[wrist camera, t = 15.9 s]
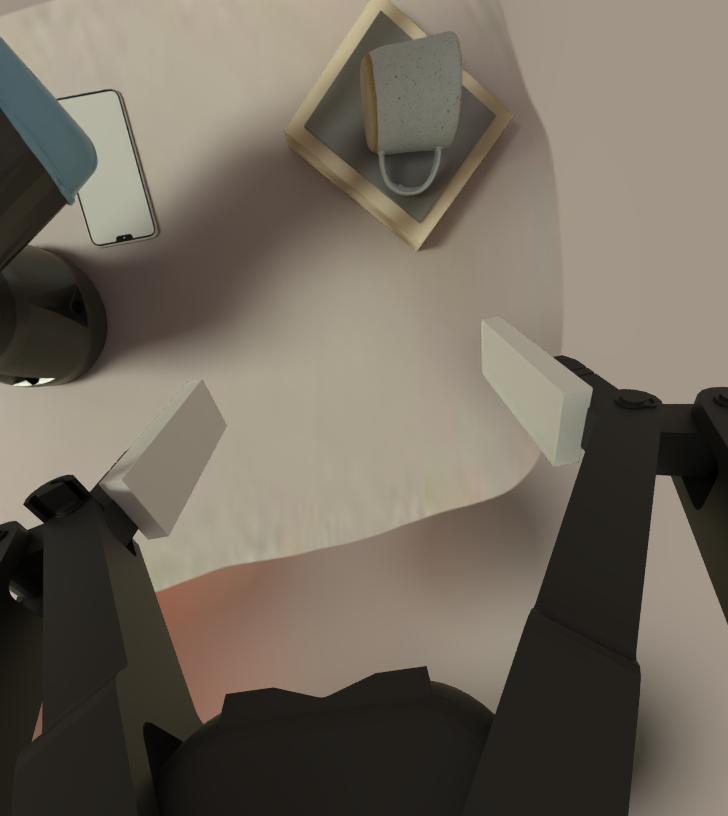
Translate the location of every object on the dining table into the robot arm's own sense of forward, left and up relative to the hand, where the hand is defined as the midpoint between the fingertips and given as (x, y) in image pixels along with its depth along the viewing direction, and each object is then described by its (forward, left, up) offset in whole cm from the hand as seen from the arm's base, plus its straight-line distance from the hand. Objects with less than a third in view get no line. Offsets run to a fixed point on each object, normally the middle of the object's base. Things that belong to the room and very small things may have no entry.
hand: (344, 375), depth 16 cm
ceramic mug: (-8, +22, -22) cm, 32 cm away
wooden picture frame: (-10, +24, -25) cm, 36 cm away
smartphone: (-33, +2, -25) cm, 42 cm away
